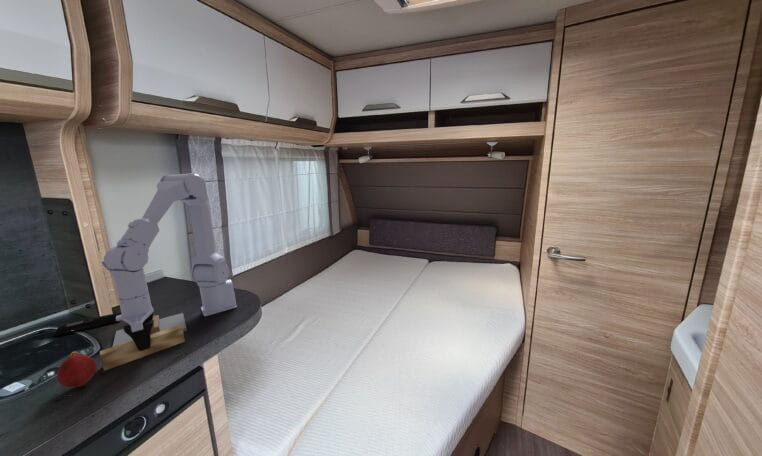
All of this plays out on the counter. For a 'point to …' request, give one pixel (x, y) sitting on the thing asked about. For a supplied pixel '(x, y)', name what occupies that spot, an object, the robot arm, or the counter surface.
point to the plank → (131, 352)
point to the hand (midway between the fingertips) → (145, 346)
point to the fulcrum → (153, 327)
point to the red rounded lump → (76, 370)
